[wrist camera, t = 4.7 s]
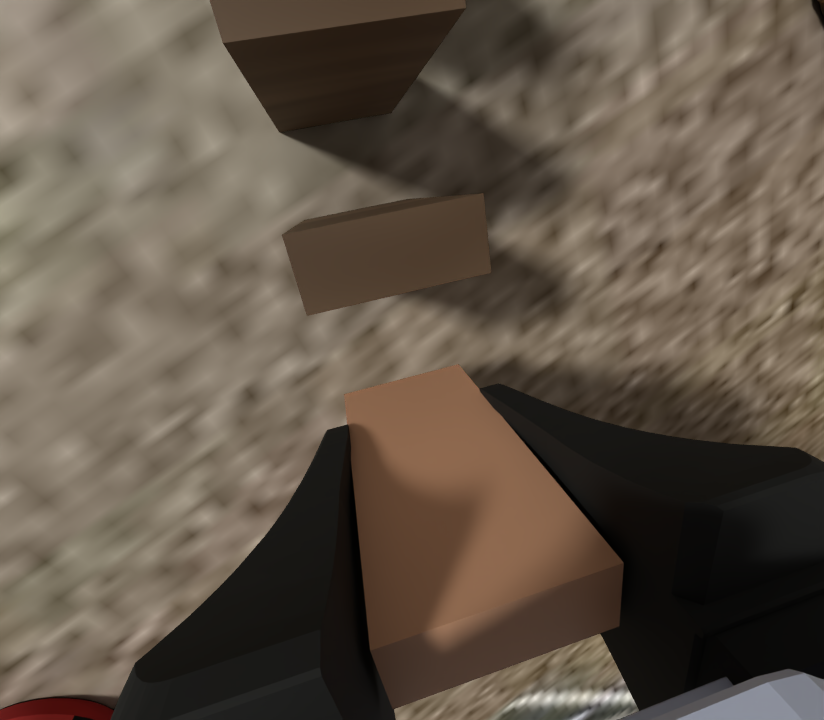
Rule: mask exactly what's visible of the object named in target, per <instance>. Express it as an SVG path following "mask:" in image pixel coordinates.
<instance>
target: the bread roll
mask: <svg viewBox="0 0 824 720" xmlns="http://www.w3.org/2000/svg"><path fill="white" fill-rule="evenodd" d="M817 1H819V2H820V5H821V8H820V9H821V12H822V14H823V16H824V0H817Z"/></svg>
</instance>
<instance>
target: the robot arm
mask: <svg viewBox="0 0 824 720" xmlns="http://www.w3.org/2000/svg"><path fill="white" fill-rule="evenodd" d="M480 392H481V394H482V395H483V396H484V397H485V398H486V400H487V401H488V402H489V403H490V405H491V406H492V407H493V408H494V409H495V410H496V411H497V412H498V413H499V414H500V415H501V416H502V417H503V418H504V420H505V421H506V422H507V423H508V424H509V426H510V427H511V428H512V429H513V430H514V432H515V433H516V434H517V435H518V436H519V438H520V439H521V440H522V441H523V442H524V444H525V445H526V446H527V447H528V448H529V450H530V451H531V452H532V453H533V454H534V456H535V457H536V458H537V459H538V460H539V462H540V463H541V464H542V465H543V466H544V468H545V469H546V470H547V471H548V472H549V474H550V475H551V476H552V477H553V478H554V480H555V481H556V482H557V483H558V484H559V486H560V487H561V488H562V489H563V490H564V492H565V493H566V494H567V495H568V496H569V498H570V499H571V500H572V501H573V502H574V504H575V505H576V506H577V507H578V508H579V510H580V511H581V512H582V513H583V514H584V516H585V517H586V518H587V519H588V520H589V522H590V523H591V524H592V525H593V526H594V528H595V529H596V530H597V531H598V532H599V534H600V535H601V536H602V537H603V538H604V540H605V541H606V542H607V543H608V545H609V546H610V547H611V548H612V549H613V551H614V552H615V553H616V554H617V555H618V557H619V558H620V559H621V560H622V561H623V563H624V567H623V581H622V595H621V609H620V623H619V627H616V628H613V629H610V630H608V631H605V632H602V633H600V634H601V636H602V637H603V639H604V641H605V643H606V645H607V647H608V649H609V651H610V653H611V655H612V657H613V659H614V661H615V663H616V665H617V667H618V669H619V671H620V673H621V675H622V677H623V679H624V681H625V683H626V685H627V687H628V689H629V691H630V693H631V695H632V697H633V699H634V701H635V703H636V705H637V707H638V709H639V711H638V712H636V713H633V714H631V715H628V716H626V717H623V718H621V719H618V720H824V462H823V461H821V460H819V459H817V458H815V457H813V456H811V455H809V454H808V453H806V452H804V451H802V450H800V449H797V448H791V447H774V446H757V445H740V444H727V443H718V442H709V441H700V440H692V439H685V438H678V437H671V436H666V435H660V434H655V433H649V432H644V431H639V430H634V429H630V428H625V427H621V426H617V425H614V424H610V423H606V422H602V421H598V420H595V419H592V418H588V417H585V416H582V415H579V414H576V413H573V412H570V411H567V410H565V409H562V408H559V407H556V406H554V405H551V404H549V403H546V402H544V401H541V400H539V399H536V398H534V397H531V396H529V395H526V394H524V393H522V392H519V391H517V390H514V389H512V388H510V387H507V386H504V385H501V384H495V385H491V386H488V387H484V388H480ZM110 720H396V719H395V713H394V709H392V706H391V704H390V701H389V698H388V696H387V693H386V691H385V688H384V685H383V683H382V680H381V678H380V675H379V672H378V670H377V667H376V665H375V662H374V659H373V657H372V654H371V652H370V645H369V635H368V625H367V615H366V605H365V595H364V585H363V575H362V565H361V555H360V545H359V535H358V525H357V515H356V505H355V495H354V485H353V475H352V466H351V441H350V432H349V426H348V425H344V426H340V427H337V428H333V429H329V430H327V431H326V433H325V435H324V437H323V439H322V441H321V444H320V446H319V448H318V450H317V452H316V455H315V457H314V459H313V461H312V463H311V465H310V466H309V468H308V470H307V472H306V474H305V476H304V478H303V480H302V481H301V483H300V485H299V487H298V488H297V490H296V492H295V493H294V495H293V496H292V498H291V500H290V501H289V503H288V505H287V506H286V508H285V509H284V511H283V512H282V514H281V515H280V517H279V518H278V519H277V521H276V522H275V524H274V525H273V526H272V528H271V529H270V530H269V532H268V533H267V534H266V535H265V537H264V538H263V539H262V540H261V541H260V543H259V544H258V545H257V546H256V547H255V548H254V549H253V551H252V552H251V553H250V554H249V555H248V556H247V558H246V559H245V560H244V561H243V562H242V563H241V565H240V566H239V567H238V568H237V569H236V570H235V571H234V572H233V573H232V574H231V575H230V576H229V578H228V579H227V580H226V581H225V582H224V583H223V584H222V585H221V586H220V587H219V588H218V589H217V590H216V591H215V592H214V593H213V594H212V595H211V596H210V597H209V598H208V599H207V600H206V601H205V602H204V603H203V604H202V605H201V606H199V607H198V608H197V609H196V610H195V611H194V612H193V613H192V614H191V615H190V616H189V617H188V618H187V619H185V620H184V621H183V622H182V623H181V624H180V625H179V626H177V627H176V628H175V629H174V630H173V631H172V632H171V633H169V634H168V635H167V636H166V637H165V638H164V639H163V640H161V641H160V642H159V643H158V644H157V645H156V646H155V647H154V648H152V649H151V650H150V651H149V652H148V653H147V654H145V655H144V656H143V657H142V658H141V659H139V660H138V661H137V662H136V663H135V665H134V667H133V669H132V671H131V673H130V675H129V677H128V680H127V682H126V684H125V686H124V688H123V690H122V693H121V695H120V697H119V700H118V702H117V704H116V707H115V709H114V712H113V714H112V717H111V719H110Z"/></svg>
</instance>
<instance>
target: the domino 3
mask: <svg viewBox="0 0 824 720" xmlns="http://www.w3.org/2000/svg"><path fill="white" fill-rule="evenodd" d="M344 396H345V406H346V416H347V425H348V426H349V432H350V441H351V466H352V475H353V485H354V495H355V505H356V515H357V525H358V535H359V545H360V555H361V565H362V575H363V585H364V595H365V605H366V615H367V625H368V635H369V645H370V652H371V654H372V657H373V659H374V662H375V665H376V667H377V670H378V672H379V675H380V678H381V680H382V683H383V685H384V688H385V691H386V693H387V696H388V698H389V701H390V704H391V706H392V709H396V708H398V707H401V706H404V705H406V704H409V703H412V702H415V701H417V700H420V699H423V698H425V697H428V696H431V695H434V694H436V693H439V692H442V691H444V690H447V689H450V688H453V687H455V686H458V685H461V684H464V683H466V682H469V681H472V680H474V679H477V678H480V677H483V676H485V675H488V674H491V673H493V672H496V671H499V670H502V669H504V668H507V667H510V666H512V665H515V664H518V663H521V662H523V661H526V660H529V659H532V658H534V657H537V656H540V655H542V654H545V653H548V652H551V651H553V650H556V649H559V648H561V647H564V646H567V645H570V644H572V643H575V642H578V641H580V640H583V639H586V638H589V637H591V636H594V635H597V634H600V633H602V632H605V631H608V630H610V629H613V628H616V627H619V623H620V609H621V595H622V581H623V567H624V563H623V561H622V560H621V559H620V558H619V557H618V555H617V554H616V553H615V552H614V551H613V549H612V548H611V547H610V546H609V545H608V543H607V542H606V541H605V540H604V538H603V537H602V536H601V535H600V534H599V532H598V531H597V530H596V529H595V528H594V526H593V525H592V524H591V523H590V522H589V520H588V519H587V518H586V517H585V516H584V514H583V513H582V512H581V511H580V510H579V508H578V507H577V506H576V505H575V504H574V502H573V501H572V500H571V499H570V498H569V496H568V495H567V494H566V493H565V492H564V490H563V489H562V488H561V487H560V486H559V484H558V483H557V482H556V481H555V480H554V478H553V477H552V476H551V475H550V474H549V472H548V471H547V470H546V469H545V468H544V466H543V465H542V464H541V463H540V462H539V460H538V459H537V458H536V457H535V456H534V454H533V453H532V452H531V451H530V450H529V448H528V447H527V446H526V445H525V444H524V442H523V441H522V440H521V439H520V438H519V436H518V435H517V434H516V433H515V432H514V430H513V429H512V428H511V427H510V426H509V424H508V423H507V422H506V421H505V420H504V418H503V417H502V416H501V415H500V414H499V413H498V412H497V411H496V410H495V409H494V408H493V407H492V406H491V405H490V403H489V402H488V401H487V400H486V398H485V397H484V396H483V395H482V394H481V392H480V390H479V388H478V387H477V386H476V385H475V384H474V382H473V381H472V380H471V379H470V378H469V376H468V375H467V374H466V373H465V371H464V370H463V369H462V368H461V367H460V365H459V364H458V365H454V366H450V367H446V368H442V369H439V370H435V371H431V372H427V373H423V374H420V375H416V376H412V377H408V378H404V379H400V380H397V381H393V382H389V383H385V384H381V385H378V386H374V387H370V388H366V389H362V390H359V391H355V392H351V393H347V394H344Z"/></svg>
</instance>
